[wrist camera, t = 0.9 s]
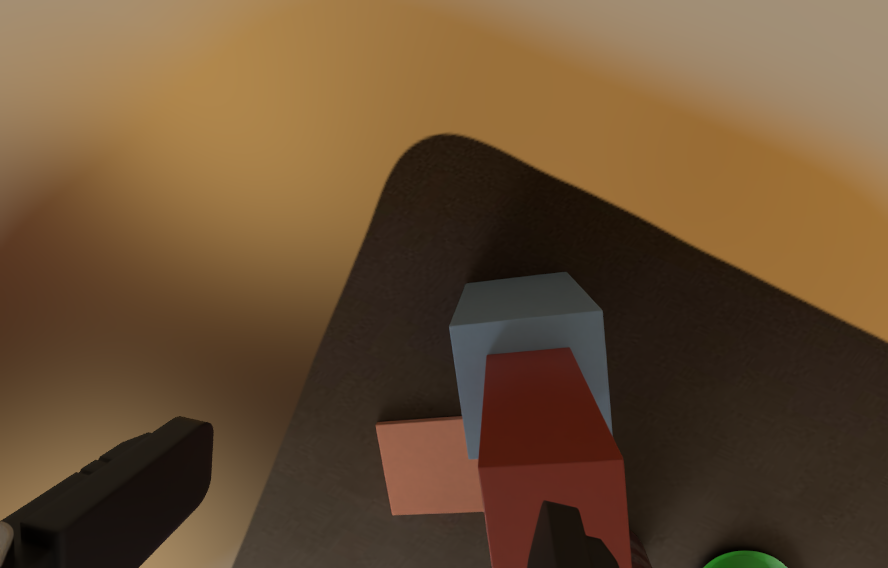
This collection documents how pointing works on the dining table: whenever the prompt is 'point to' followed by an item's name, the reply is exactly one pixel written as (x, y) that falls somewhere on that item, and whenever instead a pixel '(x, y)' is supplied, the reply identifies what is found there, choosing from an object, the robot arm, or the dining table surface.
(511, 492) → the red post
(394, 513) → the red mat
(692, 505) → the dining table surface
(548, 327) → the blue stand
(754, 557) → the green plate with lemons
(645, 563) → the brown drink cup
